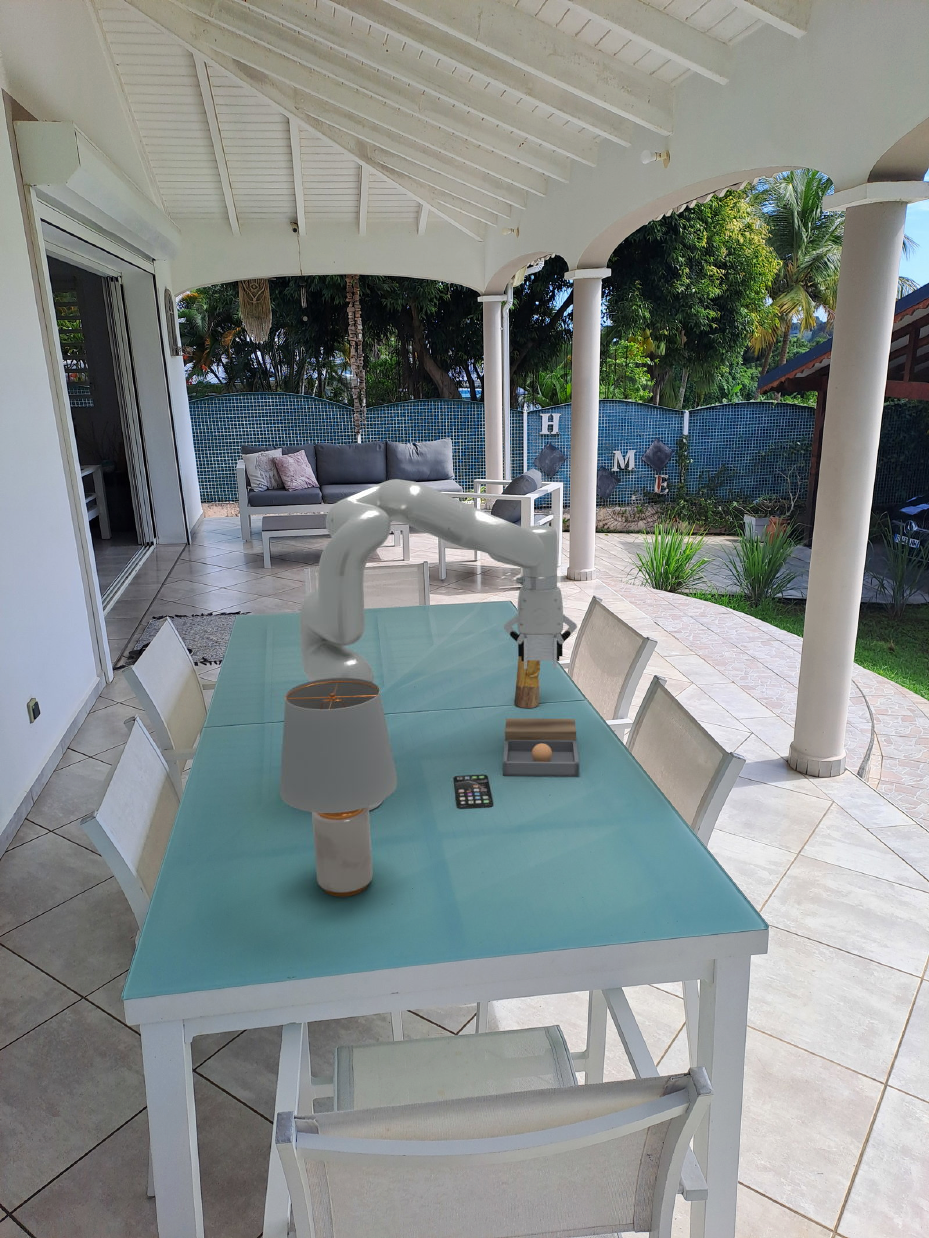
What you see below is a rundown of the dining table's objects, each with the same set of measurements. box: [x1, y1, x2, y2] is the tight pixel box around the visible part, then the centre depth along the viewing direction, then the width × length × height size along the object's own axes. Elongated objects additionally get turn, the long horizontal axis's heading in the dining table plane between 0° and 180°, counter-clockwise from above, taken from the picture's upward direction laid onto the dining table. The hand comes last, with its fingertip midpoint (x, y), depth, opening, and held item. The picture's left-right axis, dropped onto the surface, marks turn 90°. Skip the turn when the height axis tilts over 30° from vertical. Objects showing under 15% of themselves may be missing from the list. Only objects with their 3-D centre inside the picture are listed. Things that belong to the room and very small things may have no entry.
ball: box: [532, 743, 552, 762], centre depth 189 cm, size 4×4×4 cm
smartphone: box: [453, 773, 494, 810], centre depth 178 cm, size 7×1×15 cm
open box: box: [524, 634, 558, 669], centre depth 194 cm, size 7×7×7 cm
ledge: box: [504, 717, 577, 741], centre depth 199 cm, size 8×16×5 cm, turn 85°
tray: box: [502, 739, 580, 778], centre depth 190 cm, size 13×16×3 cm
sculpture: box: [513, 657, 541, 709], centre depth 222 cm, size 7×9×30 cm
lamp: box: [279, 678, 398, 898], centre depth 141 cm, size 19×19×34 cm
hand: (540, 658), depth 195 cm, fingers closed on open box, 7 cm apart
